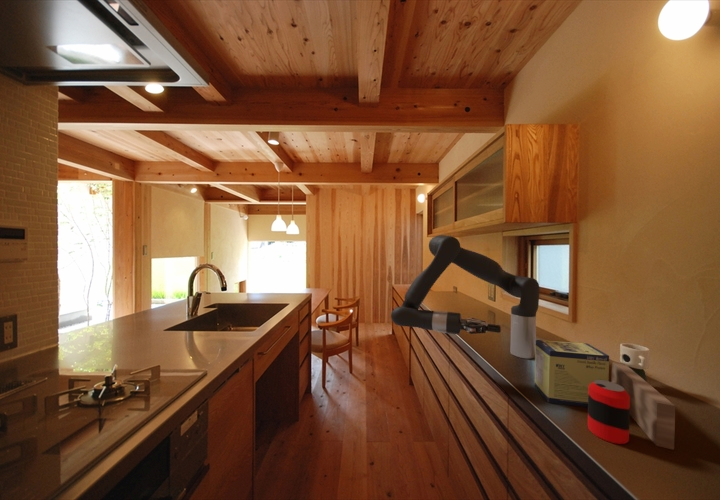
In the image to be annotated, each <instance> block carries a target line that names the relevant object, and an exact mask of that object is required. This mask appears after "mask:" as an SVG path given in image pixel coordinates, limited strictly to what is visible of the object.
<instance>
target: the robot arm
mask: <svg viewBox="0 0 720 500" xmlns="http://www.w3.org/2000/svg"><path fill="white" fill-rule="evenodd" d="M428 248H429V250H428V251H430V253H431V255H432V256H434V257H433V259H432V261H431V262H430V264H428V266H427V267H426V268H425V269H424V270H423V271H421V273H420V274H418V276H417V277H416V278H415V279H414V280H413V281H412V282H411V284H410V286H409V287H408V289H407V291H406V293H405V294H404V300H403V302H402V304H401V306H397V307H395V308H394V309H392V311H391V314H390V319H391V321H392V322H393V324H394V325H396V326H399V327H409V328H418V329H422V330H426V331H428V330H429V331H434V332H438V333H443V334H449V335H450V334H451V335H460V334H461V330H462V331H465V332H466V333H469V334H470V335H474V334H486V333H488V332H490V333H498V334H500V333H501V330H502V329H501V325H500V324H493V323H488V322H487V321H485V320H481V319H478V318H474V317H471V318H469V317H467V318H462V314H461V313H460V312H453V311H445V310H444V311H443V310H429V309H420V307H421V305H422V303H423V302H424V301H425V299H426V297H427V295H428V294H429V292H430V291H431V289H432V288H433V286H434V285H435V283H436V282H437V280H438V279H439V278H440V277H441V276H442V274H443V273H444V272H445V271H446V270H447V268H448V267H449V266H450V265H451V264H453V265H456V266H458V267H459V268H460V269H462V270H464V271H466V272H467V273H469V274H471V275H473V276H474V277H477V278H478V279H480V280H481V281H484V282H487V283H489V284H491V285H494V286H496V287H498V288H500V289H502V290H503V291H504V292H506V293H508V294H509V295H511V296H513V297H514V298H519V304H516V305H513V306H511V308H510V309H511V310H510V347H509V348H510V352H509V353H510V354H511V355H513V356H515V357H516V358H520V359H521V358H522V359H528V360H529V359H535V347H536V340H537V337H536V335H537V330H536V329H537V311H538V309H539V306H540V305H539V304H540V291H541V290H540V288H541V287H540V284H539V282H538V280H537V279H536V278H533V277H528V276H527V277H526V276H519V275H515V274H512V273H509V272H507V271H506V270H504V269H503V267H502V266H501V264H499V262H497V261H496V260H494V259H492V258H490V257H488V256H487V255H484V254H481V253H479V252H476V251H472V250H470V249H466V248H463V247H462V246H461V244H460V240H458V238H456V237H455V236H452V235H443V234H441V235H440V234H439V235H436V236H433V237H432V238H431V239H430V240H429V242H428Z"/></svg>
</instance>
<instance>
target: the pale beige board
mask: <svg viewBox="0 0 720 500" xmlns="http://www.w3.org/2000/svg"><path fill="white" fill-rule="evenodd" d="M610 382H613V383H615V384H618V385H620V386H622V387H623V388H624V389H625V391H626V392H627V393H628V394H629V396H630V417H631V418H632V419H633V420H634V422H636V424H637V425H638V426H639V427H640V429H641V430H642V431H643V433H645V435H647V437H648V438H649V440H651V442H652V443H653V444H654V446H657V447H661V448H665V449H668V450H675V436H676V435H675V428H676V425H675V424H676V423H675V422H676V405H675V404H674V403H673V402H671V401H670V400H669V399H668V398H666V396H664V395H663V394H662V393H660V392H659V391H658V390H657V389H655V388H654V386H652V385H651V384H650V383H648V382H646V381H645V380H644V379H642V378H641V377H640V376H639V375H638V374H636V373H635V372H634V371H633V370H632V369H631V368H629V367H628V366H627V365H626V364H625V363H621V362H620V361H619V362H617V361H611V381H610Z"/></svg>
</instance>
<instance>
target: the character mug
mask: <svg viewBox="0 0 720 500" xmlns="http://www.w3.org/2000/svg"><path fill="white" fill-rule="evenodd" d="M619 346H620V347H619V353H620V357H619V363H625V364H626V365H627V366H628V367H629V368H631V369H632V370H633V371H634V372H635V373H636V374H638V375H639V376H640V377H641V378H642V379H644V380H645V381H646V382H647V375H646V371H645V370H649V369H650V364H651V361H650V360H651V349H650V348H648V347H646V346H643V345H639V344H636V343H635V344H634V343H625V342H624V343H620V345H619ZM647 383H648V382H647Z"/></svg>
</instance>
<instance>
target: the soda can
mask: <svg viewBox="0 0 720 500" xmlns="http://www.w3.org/2000/svg"><path fill="white" fill-rule="evenodd" d="M630 417H631V416H630V396H629V394H628V393H627V392H626V391H625V389H624V388H623V387H622V386H620V385H618V384H615V383H613V382H611V381H604V380H595V381H594V382H592V383H591V384H590V385H589V388H588V407H587V428H588V430H589V431H590V432H591V433H592V434H593V435H594V436H596V437H597V438H599V439H601V440H603V441H605V442H609V443H612V444H614V445H615V444H616V445H624V444H627V443H628V442H629V441H630Z"/></svg>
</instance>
